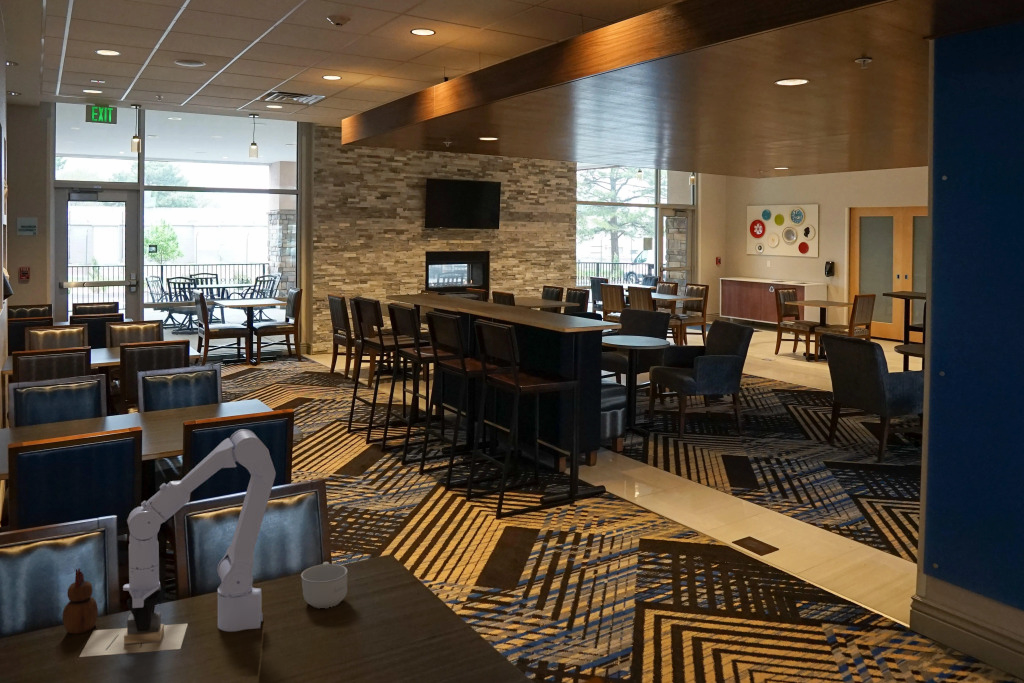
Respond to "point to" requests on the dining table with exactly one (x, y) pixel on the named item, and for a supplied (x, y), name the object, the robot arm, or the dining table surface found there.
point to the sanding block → (144, 637)
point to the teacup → (324, 585)
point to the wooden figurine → (80, 606)
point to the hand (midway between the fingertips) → (144, 626)
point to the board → (114, 644)
